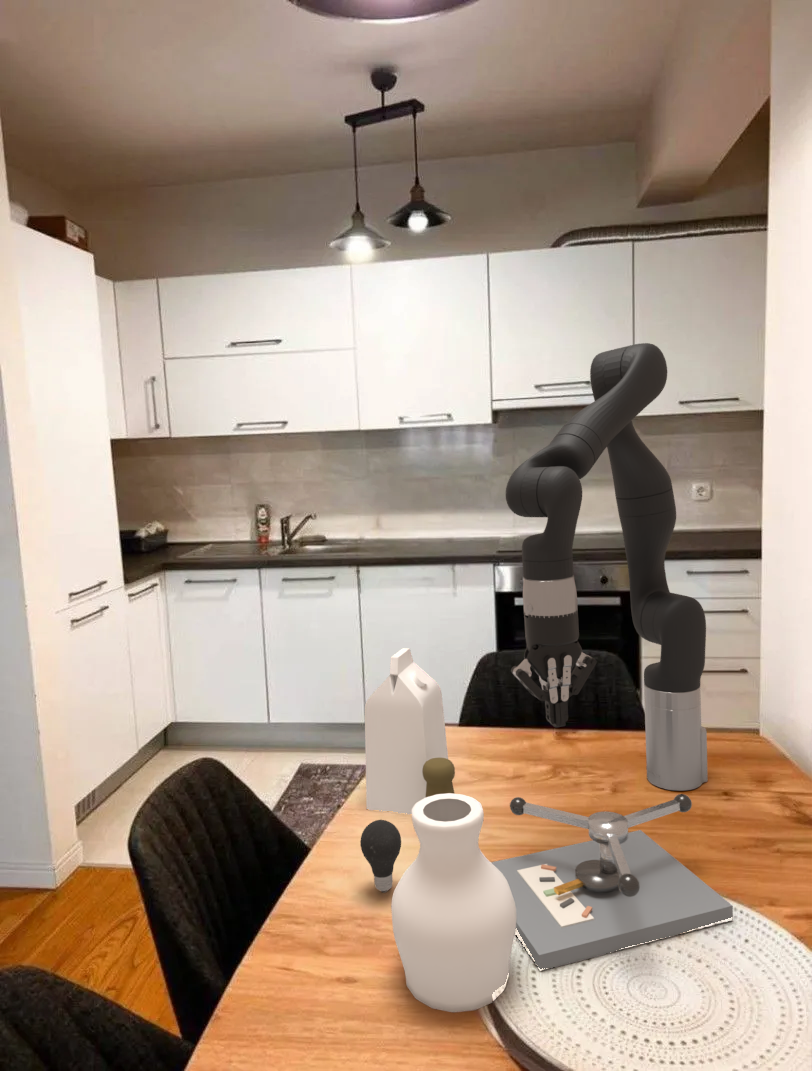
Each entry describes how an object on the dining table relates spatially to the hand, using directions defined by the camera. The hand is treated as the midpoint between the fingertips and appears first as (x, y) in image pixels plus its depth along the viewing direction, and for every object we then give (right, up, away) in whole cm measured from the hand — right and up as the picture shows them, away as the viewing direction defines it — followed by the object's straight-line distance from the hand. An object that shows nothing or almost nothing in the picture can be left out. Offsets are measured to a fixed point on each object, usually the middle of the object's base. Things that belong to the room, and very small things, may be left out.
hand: (557, 724), depth 108 cm
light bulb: (-25, -22, -5) cm, 34 cm away
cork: (-16, -20, +12) cm, 28 cm away
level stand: (+3, -20, -9) cm, 23 cm away
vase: (-16, -23, -22) cm, 36 cm away
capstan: (+8, -17, -8) cm, 20 cm away
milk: (-21, -19, +23) cm, 37 cm away
